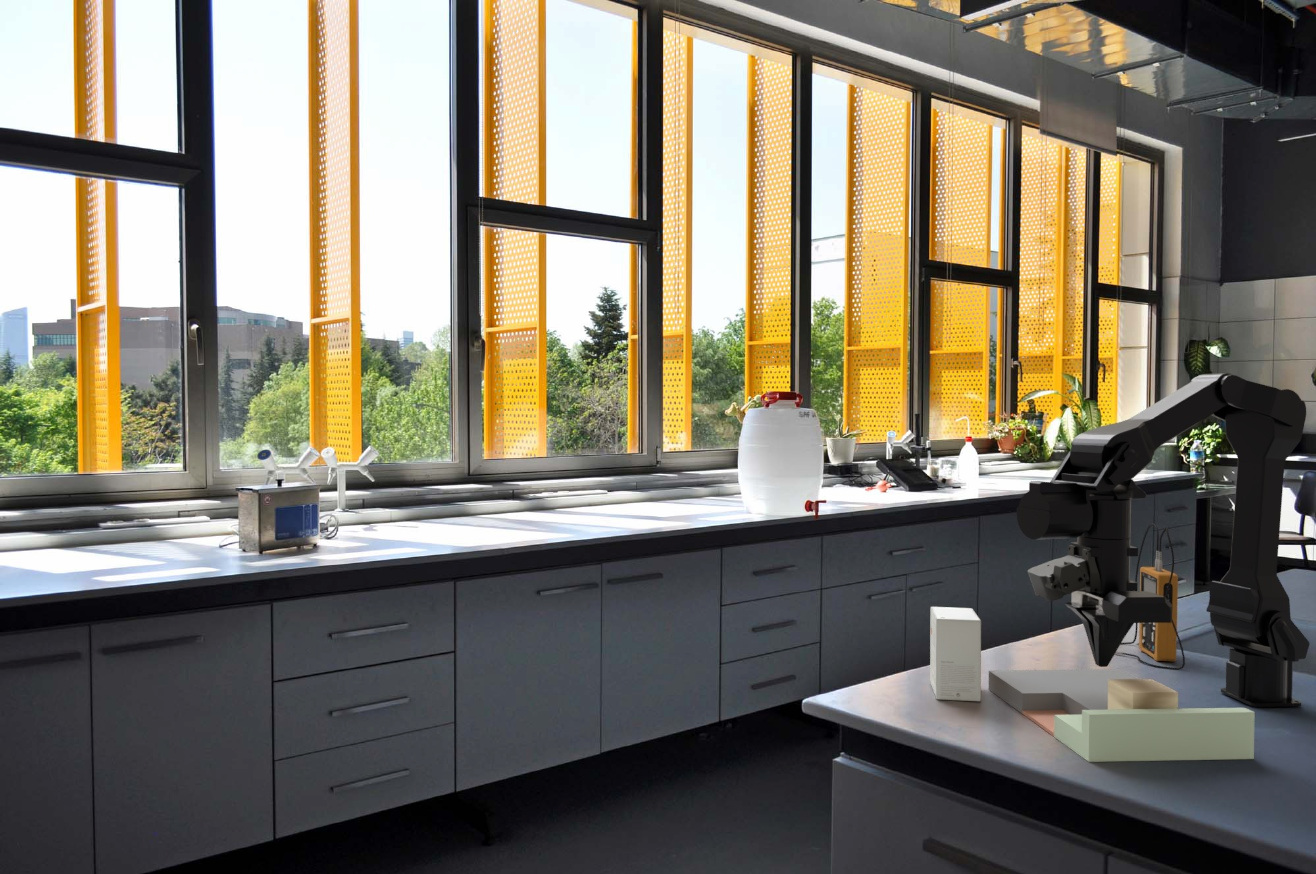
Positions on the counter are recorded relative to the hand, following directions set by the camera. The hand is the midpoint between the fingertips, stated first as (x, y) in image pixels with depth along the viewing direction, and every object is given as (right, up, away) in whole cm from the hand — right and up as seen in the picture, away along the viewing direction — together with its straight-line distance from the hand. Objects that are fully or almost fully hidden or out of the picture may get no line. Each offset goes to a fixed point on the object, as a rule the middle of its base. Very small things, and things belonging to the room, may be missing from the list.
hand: (1101, 666), depth 111 cm
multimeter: (+19, -6, +29) cm, 35 cm away
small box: (-14, -6, +10) cm, 19 cm away
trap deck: (0, -6, 0) cm, 6 cm away
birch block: (0, -4, -9) cm, 10 cm away
